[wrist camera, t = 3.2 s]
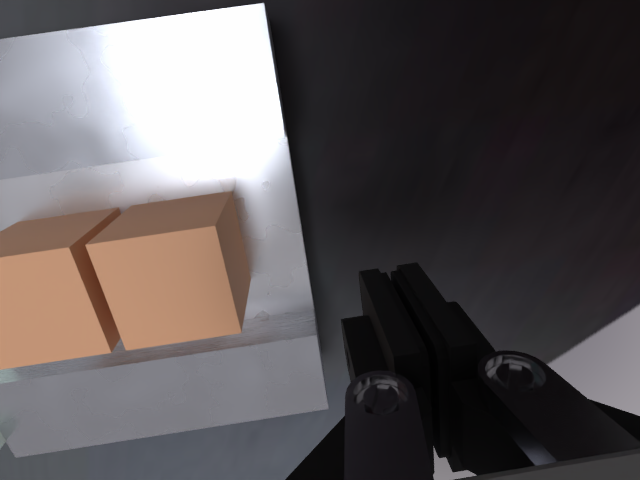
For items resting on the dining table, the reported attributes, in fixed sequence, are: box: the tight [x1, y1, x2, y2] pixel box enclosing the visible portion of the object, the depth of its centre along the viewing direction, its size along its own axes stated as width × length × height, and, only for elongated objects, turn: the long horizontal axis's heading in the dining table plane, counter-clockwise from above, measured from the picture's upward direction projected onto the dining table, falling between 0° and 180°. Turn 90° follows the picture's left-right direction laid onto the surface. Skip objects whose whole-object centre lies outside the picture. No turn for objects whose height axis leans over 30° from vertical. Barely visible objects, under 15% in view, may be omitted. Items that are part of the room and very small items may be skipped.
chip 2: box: [85, 191, 251, 351], centre depth 15 cm, size 4×4×4 cm
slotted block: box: [0, 3, 328, 458], centre depth 17 cm, size 14×16×4 cm
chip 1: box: [0, 207, 121, 370], centre depth 15 cm, size 4×4×4 cm
